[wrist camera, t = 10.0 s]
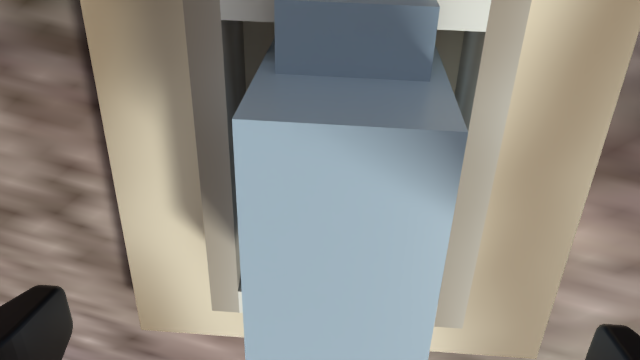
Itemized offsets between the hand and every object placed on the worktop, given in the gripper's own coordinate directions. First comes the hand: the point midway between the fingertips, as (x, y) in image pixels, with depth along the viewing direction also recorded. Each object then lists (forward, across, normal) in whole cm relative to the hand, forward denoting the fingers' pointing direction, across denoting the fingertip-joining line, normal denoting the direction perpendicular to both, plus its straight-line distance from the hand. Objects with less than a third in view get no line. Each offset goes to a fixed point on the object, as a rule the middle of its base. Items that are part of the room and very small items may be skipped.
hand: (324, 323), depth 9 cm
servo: (+7, 0, 0) cm, 7 cm away
